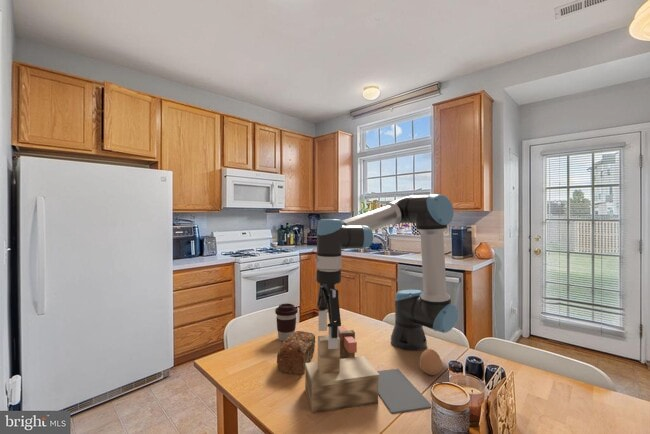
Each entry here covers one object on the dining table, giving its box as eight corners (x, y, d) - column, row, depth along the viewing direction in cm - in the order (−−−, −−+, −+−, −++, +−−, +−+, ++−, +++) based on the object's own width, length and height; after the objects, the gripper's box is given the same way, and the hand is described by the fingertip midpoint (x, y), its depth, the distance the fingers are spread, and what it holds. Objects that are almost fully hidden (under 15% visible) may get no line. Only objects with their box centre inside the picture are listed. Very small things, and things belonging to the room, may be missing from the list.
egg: (425, 366, 113) (425, 343, 112) (445, 374, 107) (445, 350, 107) (415, 373, 107) (416, 349, 107) (435, 381, 102) (435, 356, 102)
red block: (343, 334, 118) (343, 325, 118) (356, 352, 103) (356, 342, 103) (336, 334, 118) (336, 325, 118) (348, 353, 102) (348, 342, 102)
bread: (304, 377, 105) (304, 348, 105) (275, 373, 107) (275, 345, 107) (316, 353, 123) (316, 328, 123) (291, 350, 125) (291, 326, 125)
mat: (398, 369, 110) (398, 368, 110) (432, 407, 88) (432, 406, 88) (364, 373, 107) (364, 372, 107) (391, 413, 86) (391, 412, 86)
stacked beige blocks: (364, 359, 101) (364, 326, 101) (379, 377, 89) (379, 340, 89) (305, 366, 96) (305, 331, 96) (313, 387, 84) (313, 348, 84)
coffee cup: (301, 337, 138) (301, 304, 138) (287, 345, 130) (288, 310, 130) (284, 332, 144) (285, 301, 143) (270, 339, 135) (270, 306, 135)
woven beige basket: (354, 367, 111) (355, 329, 111) (378, 403, 90) (378, 357, 90) (300, 373, 106) (301, 334, 106) (312, 413, 85) (312, 363, 85)
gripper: (309, 263, 104) (308, 325, 104) (326, 277, 79) (324, 358, 79) (330, 262, 105) (329, 323, 105) (353, 277, 81) (351, 356, 81)
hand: (327, 338), depth 92 cm, fingers open, 13 cm apart
